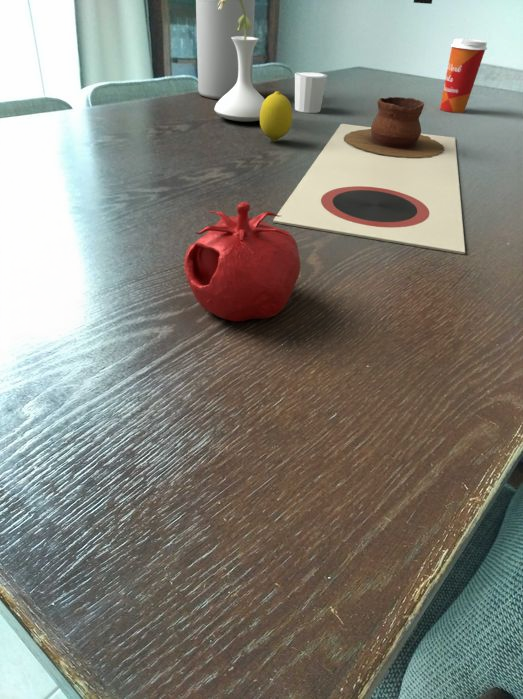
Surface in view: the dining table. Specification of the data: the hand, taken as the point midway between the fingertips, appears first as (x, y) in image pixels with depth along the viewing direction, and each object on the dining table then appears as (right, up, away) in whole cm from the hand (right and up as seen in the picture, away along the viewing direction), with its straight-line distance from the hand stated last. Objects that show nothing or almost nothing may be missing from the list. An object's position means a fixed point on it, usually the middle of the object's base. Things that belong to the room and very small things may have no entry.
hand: (422, 2), depth 80 cm
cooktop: (-7, -29, -4) cm, 30 cm away
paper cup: (+19, 0, +36) cm, 40 cm away
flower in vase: (-30, -11, +17) cm, 37 cm away
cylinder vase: (-35, +3, +36) cm, 50 cm away
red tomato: (-28, -52, -36) cm, 69 cm away
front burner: (-12, -38, -16) cm, 43 cm away
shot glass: (-16, -4, +28) cm, 33 cm away
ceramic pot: (-3, -20, +8) cm, 22 cm away
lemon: (-24, -20, +6) cm, 32 cm away
